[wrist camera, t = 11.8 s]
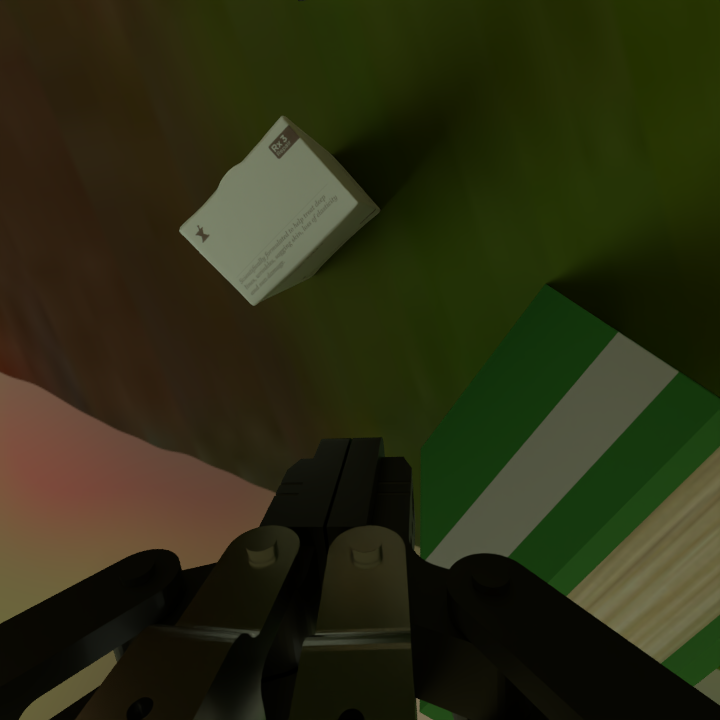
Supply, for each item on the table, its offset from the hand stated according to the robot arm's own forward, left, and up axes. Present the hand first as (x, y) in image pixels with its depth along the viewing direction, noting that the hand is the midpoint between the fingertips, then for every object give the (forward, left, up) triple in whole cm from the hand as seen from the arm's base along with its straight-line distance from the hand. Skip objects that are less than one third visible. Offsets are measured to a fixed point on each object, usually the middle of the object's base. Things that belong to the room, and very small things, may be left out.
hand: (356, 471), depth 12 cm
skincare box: (+6, -6, -29) cm, 30 cm away
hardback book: (-9, +10, -29) cm, 32 cm away
